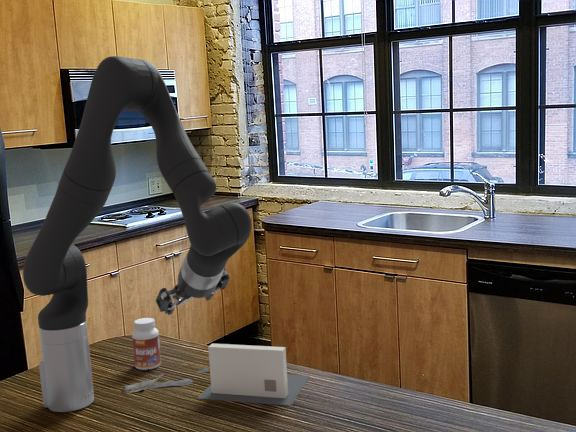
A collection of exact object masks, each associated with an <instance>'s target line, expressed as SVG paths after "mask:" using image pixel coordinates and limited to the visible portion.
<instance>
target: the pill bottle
mask: <svg viewBox="0 0 576 432" xmlns="http://www.w3.org/2000/svg"><path fill="white" fill-rule="evenodd" d="M155 322H156V321H155V319H154V318H152V317H142V318H138V319H136V320H134V322H133V323H134V324H133V325H134V326H133V327H134V328H135V329H134V331H132V333H131V339H132V341H131V342H132V350H133V351H132V353H133V362H134V367H135V368H136V369H138V370H140V371H148V369H149V370H153V369H156V368H158V367H160V366H161V365H162V357H161V343H160V342H161V341H160V331H159V329H157V328H156V327H155V326H156V323H155Z"/></svg>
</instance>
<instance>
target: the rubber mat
mask: <svg viewBox="0 0 576 432" xmlns="http://www.w3.org/2000/svg"><path fill="white" fill-rule="evenodd" d="M310 377H311V375H303V374H302V375H300V374H288V373H287V382H288V395H287V397H286V398H274V397H261V396H247V395H233V394H220V393H212V390H211V384H209V386H207V387H206V389H204V391H202V392H201V394H199V395H198V396H197V397H196V399H198V400H199V399H200V400H213V401H226V402H239V403H252V404H262V405H263V404H264V405H265V404H266V405H277V406H278V405H280V406H292V405H293V403H294V402H295V400H296V398H297V397H298V395H299V394H300V392H301V391H302V390H303V388H304V386H305V385H306V383H307V382H308V380H309V379H310Z"/></svg>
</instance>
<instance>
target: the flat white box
mask: <svg viewBox="0 0 576 432" xmlns="http://www.w3.org/2000/svg"><path fill="white" fill-rule="evenodd" d="M286 350H287V348H286V347H285V346H269V345H267V346H266V345H248V344H247V345H246V344H231V343H211V344H210V345H208V360H209V361H208V362H209V363H208V364H209V372H210V373H209V374H210V385H211V390H212V393H220V394H233V395H247V396H261V397H274V398H286V397H287V395H288V382H287V374H288V367H287V366H288V365H287V353H286V352H287V351H286Z"/></svg>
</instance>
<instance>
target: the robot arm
mask: <svg viewBox="0 0 576 432" xmlns="http://www.w3.org/2000/svg"><path fill="white" fill-rule="evenodd" d="M122 112H139V113H141V114H142V117H144V118H145V119H146V121H147V122H148V124H149V125H150V126H151V128H152V130H153V133H154V136H155V137H154V138H155V149H156V150H155V151H156V162H157V165H158V169H159V171H160V173H161V175H162V177H163V179H164V181H165V182H166V184H167V186H168V187H169V189H170V191H171V193H172V195H174V197H175V200H176V201H177V203H178V206H179V208H180V211H181V214H182V217H183V220H184V221H183V222H184V224H185V229H186V234H187V237H188V240H189V243H190V246H189V249H188V252H187V253H186V254H185V256H184V258H183V261H182V263H181V266H180V268H179V271H178V274H177V283H176V284H175V286H174V287H173V288H171V289H170V290H168V289H167V287H163V288H161V289H160V290H159V292H158V294H157V296H156V298H155V303H156V304H157V306H158V309H159V312H160V313H161V312H162V313H163V312H164V313H165V315H166V314H167V315H168V316H170V315H171V316H172V315H173V313H174V311H175V307H177V306H183V305H184V304H185V303H186V302H188V301H189V300H192V299H203V298H204V299H205V300H206V301H207V302H208V301H210V300H211V299H212V297H214V295H215V294H216V293H218V290H219V289H220V290H222V291H223V290H225V289H226V288H227V285H228V283H229V281H230V276H229V273H228V271H227V269H226V265H227V263H228V261H229V260H230V259H231V258H232V257H233V256H234V255H235V254H236V253H237V252H238V251H239V250H240V249H241V248H242V247H243V246H244V245H245V244H246V242H247V241H248V240H249V238H250V236H251V233H252V227H253V226H252V218H251V215H250V213H249V211H248V210H247V209H246V208H245V206H243V205H242V204H240V203H238V202H225V203H222V204H220V205H218V206H216V207H213V208H210V209H208V210H205V211H204V212H203V210H202V208H201V206H202V205H204V204H205V203H206V202H207V201H208V200H210V199H211V198H212V197H213V196H214V195H215V194H216V192H217V183H216V181H215V179H214V177H213V176H212V175H211V173H210V171H209V169H208V168H207V165H205V163H204V161H203V160H202V158H201V157H200V155H199V154H198V152H197V150H196V148H195V147H194V145H193V144H192V142H191V140H190V138H189V136H188V134H187V131H186V129H185V127H184V125H183V123H182V121H181V118H180V115H179V114H178V111H177V108H176V106H175V104H174V102H173V99H172V97H171V95H170V91H169V89H168V87H167V84H166V82H165V81H164V78H163V76H162V74H161V72H160V71H159V69H158V68H157V67H156V65H155V64H153V63H152V62H150V61H148V60H145V59H139V58H133V57H132V58H131V57H125V56H118V55H117V56H108V57H105V58H104V59H102V60H101V62H100V63H99V64H98V65H97V67H96V69H95V71H94V74H93V76H92V79H91V83H90V87H89V89H88V94H87V99H86V102H85V106H84V110H83V113H82V116H81V117H82V118H81V122H80V124H79V129H78V131H77V134H76V137H75V138H74V139H75V140H74V142H73V146H72V148H71V151H70V154H69V157H68V158H67V161H66V164H65V166H64V168H63V171H62V174H61V177H60V179H59V182H58V185H57V188H56V192H55V194H54V197H53V200H52V201H51V204H50V206H49V209H48V212H47V214H46V216H45V218H44V222H43V224H42V225H41V228H40V229H39V232H38V234H37V235H36V238H35V239H34V241H33V243H32V245H31V247H30V249H29V251H28V252H27V256H26V257H25V260H24V263H23V268H22V276H23V282H24V285H25V287H26V289H27V290H28V291H29V292H30V293H31V294H32V295H35V296H40V297H44V296H50V295H52V297H51V298H50V300H49V302H48V303H47V304H46V305H45V306H44V307H43V308H42V309H41V310H39V313H38V314H37V321H38V330H39V337H40V338H39V340H40V347H41V349H40V350H41V356H42V361H39V363H38V368H39V376H40V378H39V379H40V385H41V393H42V394H41V395H42V403H43V407H44V408H48V409H49V410H50V411H52V412H54V413H55V412H57V413H69V412H75V411H77V410H81V409H85V408H87V407H88V406H90V405H91V404H92V403H93V402H94V400H95V395H94V393H95V392H94V384H93V371H92V363H91V362H92V361H91V355H90V354H91V353H90V343H89V334H88V326H87V311H88V306H89V294H88V293H89V291H88V274H87V273H88V271H87V265H86V264H87V263H86V261H85V258H84V255H83V253H82V252H81V250H80V249H79V247H77V246H76V245H74V244H73V243H74V242H75V240H76V239H77V238H78V237H79V236H80V234H82V232H83V231H84V230H85V229H87V227H88V226H89V225H90V224H91V223H92V222H93V221H94V220H95V218H96V217H97V216H98V215H99V213H100V212H101V211H102V210H103V208H104V206H105V205H106V202H107V200H108V198H109V196H110V194H111V191H112V189H113V186H114V183H115V180H116V175H117V174H116V173H117V171H116V170H117V169H116V167H117V166H116V162H115V157H114V152H113V148H112V136H113V132H114V130H115V127H116V123H117V121H118V119H119V116H120V115H121V113H122Z"/></svg>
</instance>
